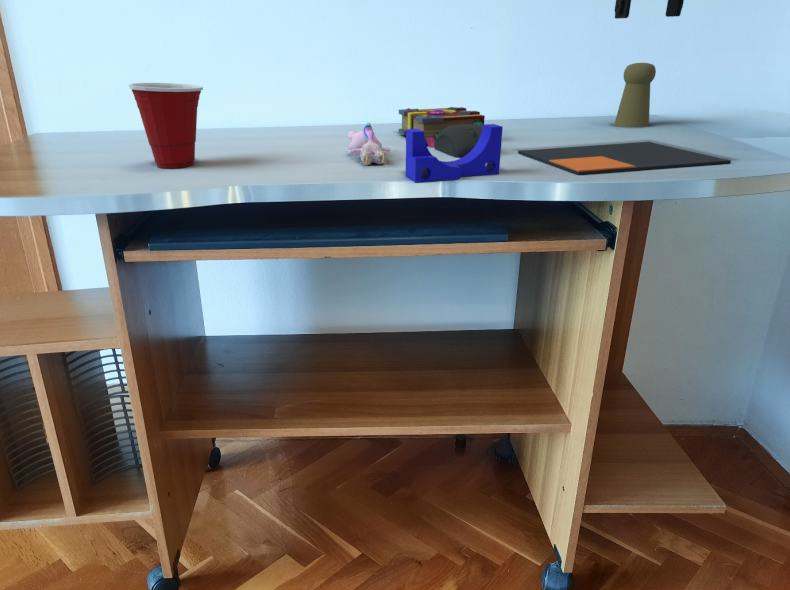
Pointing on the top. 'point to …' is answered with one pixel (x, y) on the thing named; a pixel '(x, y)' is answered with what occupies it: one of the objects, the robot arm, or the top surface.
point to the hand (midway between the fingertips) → (647, 17)
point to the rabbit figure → (367, 146)
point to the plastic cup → (169, 120)
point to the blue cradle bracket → (431, 169)
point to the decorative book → (437, 120)
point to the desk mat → (620, 157)
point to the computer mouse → (458, 139)
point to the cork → (636, 96)
